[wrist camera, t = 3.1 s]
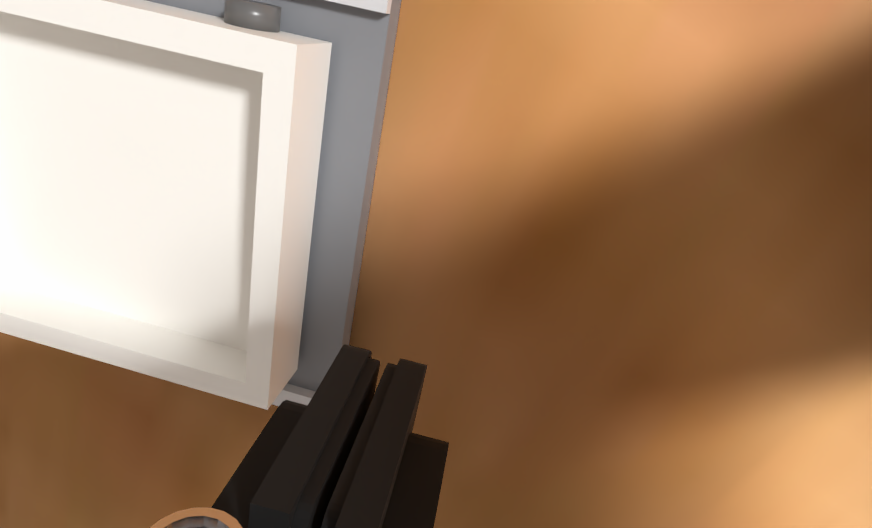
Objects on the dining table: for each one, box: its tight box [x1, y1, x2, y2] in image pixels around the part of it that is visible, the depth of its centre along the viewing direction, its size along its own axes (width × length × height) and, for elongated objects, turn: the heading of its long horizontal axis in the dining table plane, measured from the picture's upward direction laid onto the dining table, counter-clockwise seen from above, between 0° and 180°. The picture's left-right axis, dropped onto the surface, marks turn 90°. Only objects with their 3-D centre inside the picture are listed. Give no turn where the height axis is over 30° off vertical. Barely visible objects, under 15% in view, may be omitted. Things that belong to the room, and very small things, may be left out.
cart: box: [0, 0, 332, 410], centre depth 17 cm, size 12×12×2 cm
